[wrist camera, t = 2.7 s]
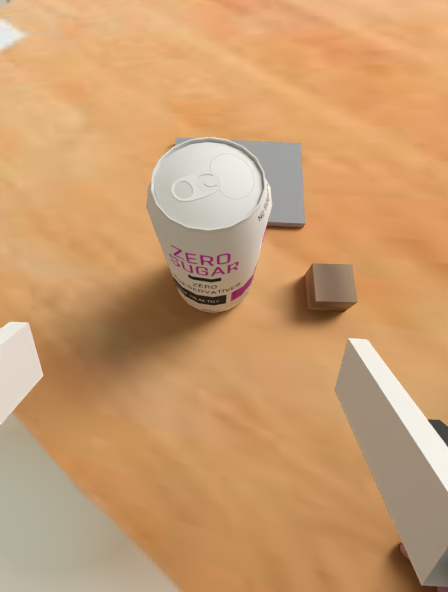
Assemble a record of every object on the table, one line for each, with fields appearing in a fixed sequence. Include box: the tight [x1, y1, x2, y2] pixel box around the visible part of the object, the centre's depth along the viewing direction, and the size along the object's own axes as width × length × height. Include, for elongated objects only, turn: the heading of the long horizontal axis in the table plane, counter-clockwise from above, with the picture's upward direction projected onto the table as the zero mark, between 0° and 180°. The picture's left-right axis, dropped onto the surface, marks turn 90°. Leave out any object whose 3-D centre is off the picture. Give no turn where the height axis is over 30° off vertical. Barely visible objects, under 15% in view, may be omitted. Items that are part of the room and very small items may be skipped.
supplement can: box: [146, 137, 272, 313], centre depth 25 cm, size 8×8×15 cm
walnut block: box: [305, 264, 357, 311], centre depth 30 cm, size 4×4×3 cm
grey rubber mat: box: [175, 138, 305, 227], centre depth 36 cm, size 16×12×1 cm
